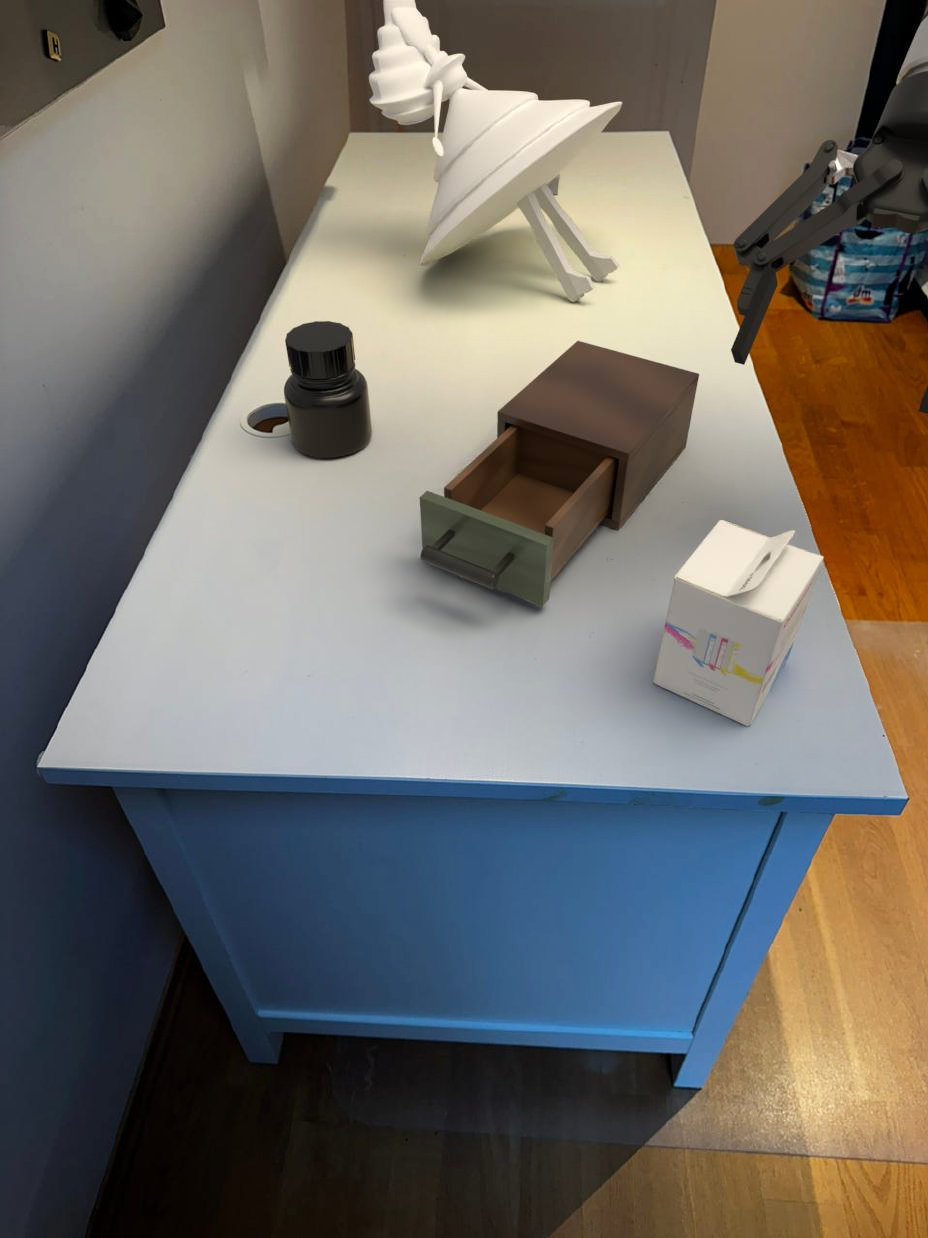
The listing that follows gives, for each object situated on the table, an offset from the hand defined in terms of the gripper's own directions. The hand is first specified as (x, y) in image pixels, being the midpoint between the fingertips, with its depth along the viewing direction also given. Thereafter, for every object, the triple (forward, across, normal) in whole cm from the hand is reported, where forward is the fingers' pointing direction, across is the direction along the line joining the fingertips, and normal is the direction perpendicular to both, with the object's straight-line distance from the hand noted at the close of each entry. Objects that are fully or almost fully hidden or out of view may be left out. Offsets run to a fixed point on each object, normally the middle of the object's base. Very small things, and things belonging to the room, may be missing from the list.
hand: (827, 381), depth 65 cm
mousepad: (-45, +76, -76) cm, 117 cm away
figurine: (-19, +57, -50) cm, 78 cm away
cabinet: (+8, +22, -22) cm, 32 cm away
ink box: (+23, 0, -7) cm, 24 cm away
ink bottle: (+15, +49, -15) cm, 53 cm away
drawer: (+19, +22, -10) cm, 31 cm away
